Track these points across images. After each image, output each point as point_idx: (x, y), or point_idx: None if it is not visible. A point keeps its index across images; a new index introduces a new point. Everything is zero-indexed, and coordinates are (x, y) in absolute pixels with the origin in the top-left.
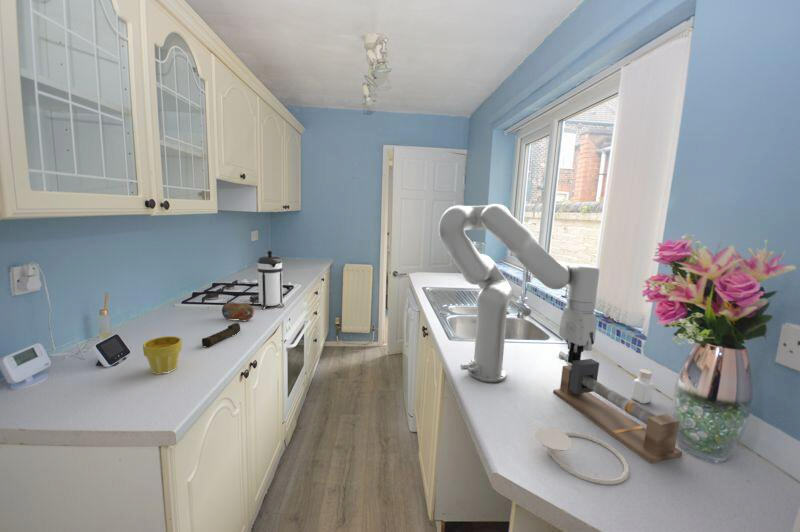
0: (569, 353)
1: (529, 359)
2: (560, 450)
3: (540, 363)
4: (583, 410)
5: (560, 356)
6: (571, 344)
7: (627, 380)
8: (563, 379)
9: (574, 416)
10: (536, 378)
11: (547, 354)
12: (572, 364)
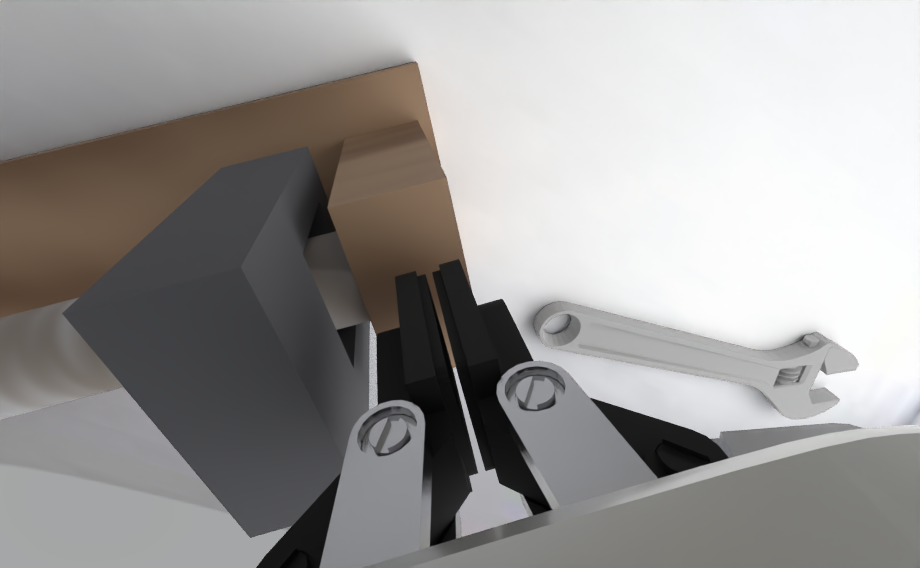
0: (470, 327)
1: (888, 137)
2: None
3: (810, 189)
4: (111, 147)
5: (816, 341)
6: (532, 473)
7: None
8: (400, 149)
9: (52, 46)
10: (639, 37)
11: (875, 287)
12: (244, 243)
